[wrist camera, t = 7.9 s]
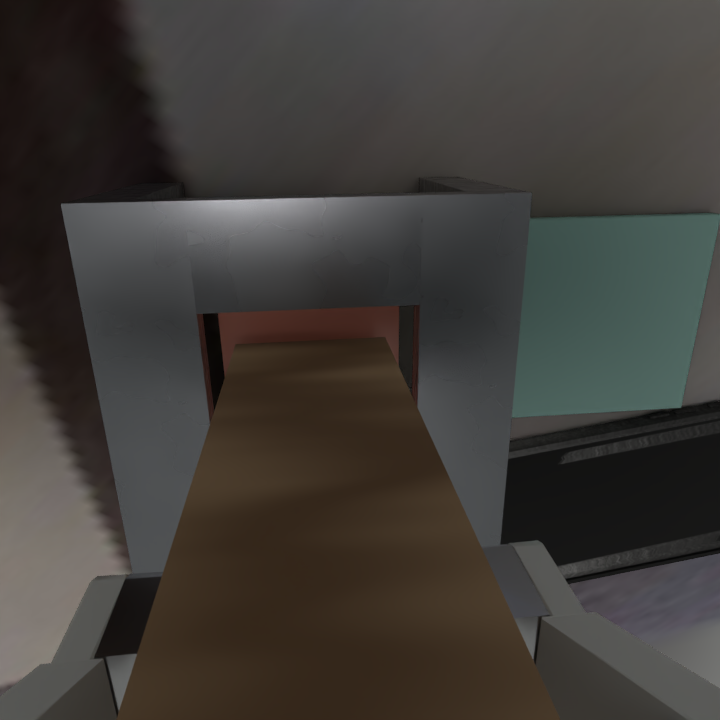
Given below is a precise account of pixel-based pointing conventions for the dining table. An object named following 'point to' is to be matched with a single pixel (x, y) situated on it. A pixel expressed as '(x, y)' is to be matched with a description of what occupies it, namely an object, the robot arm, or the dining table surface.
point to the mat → (610, 311)
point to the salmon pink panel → (308, 326)
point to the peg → (327, 561)
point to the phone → (618, 493)
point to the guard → (296, 292)
